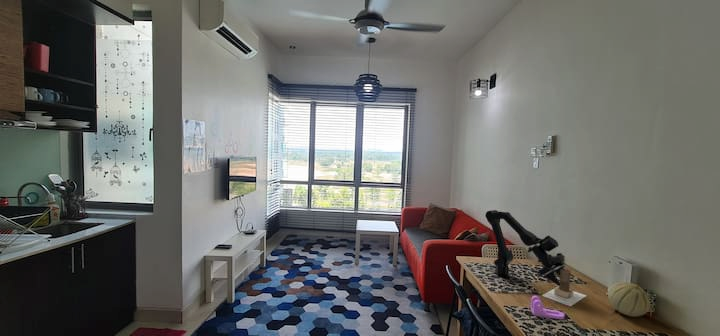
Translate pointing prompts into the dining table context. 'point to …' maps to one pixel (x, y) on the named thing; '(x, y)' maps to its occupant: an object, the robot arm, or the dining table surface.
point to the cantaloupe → (629, 299)
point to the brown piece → (564, 285)
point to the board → (569, 302)
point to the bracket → (540, 311)
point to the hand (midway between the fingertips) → (563, 283)
